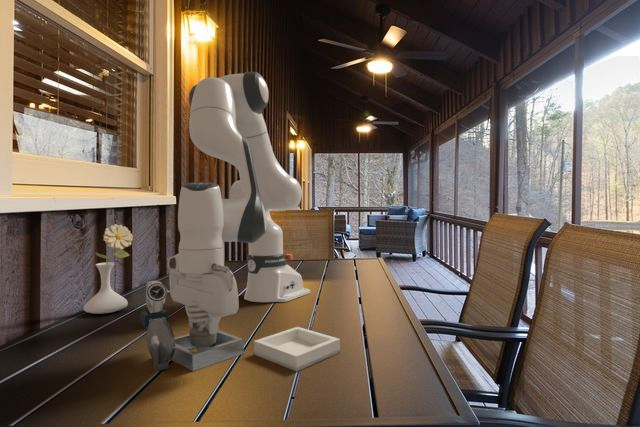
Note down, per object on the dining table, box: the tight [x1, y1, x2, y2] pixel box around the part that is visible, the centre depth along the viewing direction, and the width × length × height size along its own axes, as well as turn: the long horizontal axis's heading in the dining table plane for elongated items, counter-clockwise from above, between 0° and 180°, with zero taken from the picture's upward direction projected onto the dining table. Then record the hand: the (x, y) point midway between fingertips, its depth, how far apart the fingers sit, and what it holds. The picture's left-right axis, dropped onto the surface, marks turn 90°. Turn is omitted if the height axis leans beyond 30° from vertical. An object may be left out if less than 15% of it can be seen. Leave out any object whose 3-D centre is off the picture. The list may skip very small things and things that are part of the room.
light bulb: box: [187, 302, 217, 352], centre depth 82 cm, size 6×6×12 cm
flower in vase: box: [82, 223, 134, 315], centre depth 116 cm, size 13×11×25 cm
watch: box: [140, 280, 169, 329], centre depth 103 cm, size 6×8×11 cm
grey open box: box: [146, 318, 245, 372], centre depth 80 cm, size 16×12×9 cm
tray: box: [253, 326, 341, 372], centre depth 82 cm, size 12×12×3 cm
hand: (203, 329), depth 82 cm, fingers closed on light bulb, 5 cm apart
